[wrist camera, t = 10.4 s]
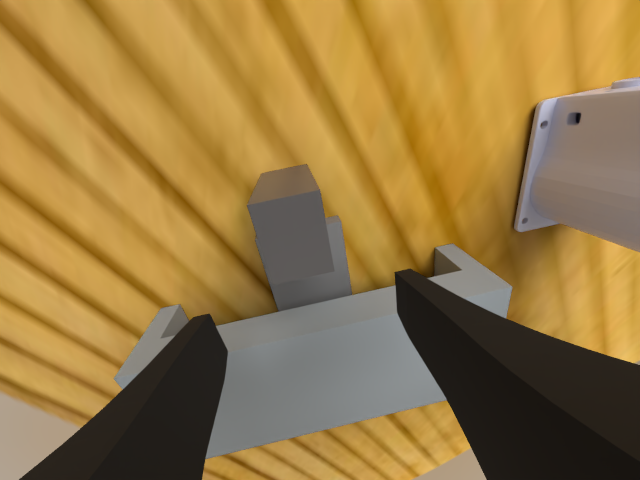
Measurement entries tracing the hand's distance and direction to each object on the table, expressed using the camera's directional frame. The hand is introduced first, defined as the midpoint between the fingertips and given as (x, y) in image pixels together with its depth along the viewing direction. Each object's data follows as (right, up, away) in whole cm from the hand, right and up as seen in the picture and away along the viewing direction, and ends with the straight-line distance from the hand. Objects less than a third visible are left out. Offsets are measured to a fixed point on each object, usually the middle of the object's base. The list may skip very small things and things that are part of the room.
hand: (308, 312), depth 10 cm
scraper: (0, -2, +11) cm, 11 cm away
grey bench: (0, -4, +13) cm, 13 cm away
